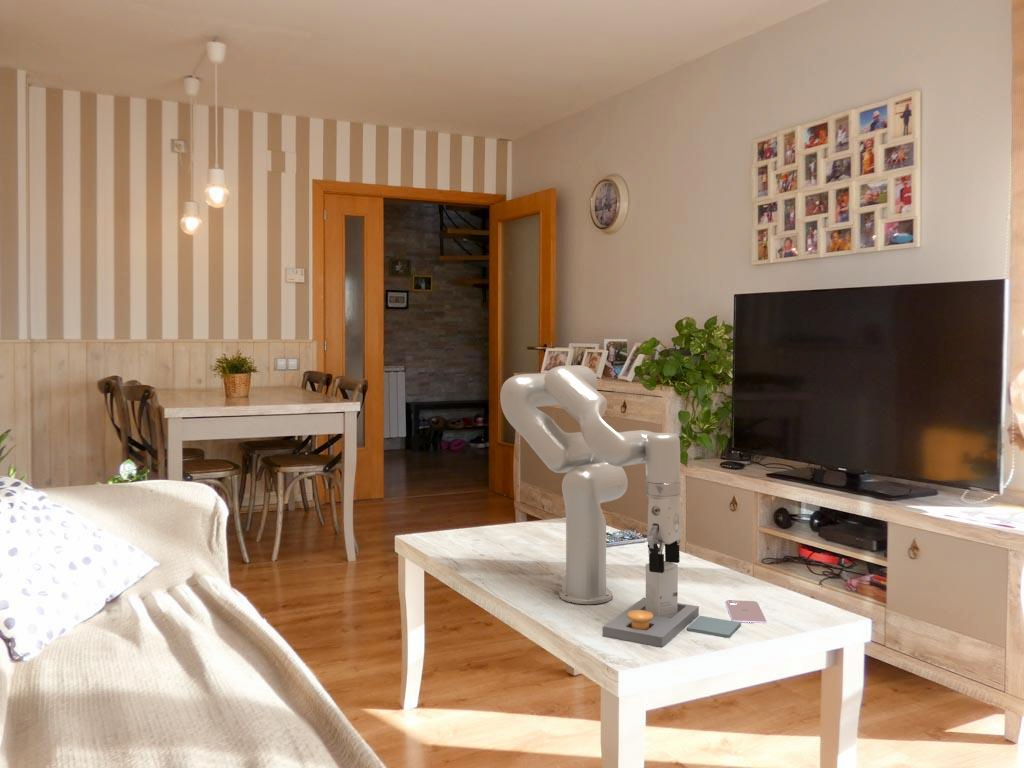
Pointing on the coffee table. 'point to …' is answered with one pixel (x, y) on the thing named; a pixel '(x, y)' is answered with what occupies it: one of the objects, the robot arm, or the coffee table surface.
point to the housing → (651, 625)
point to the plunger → (640, 619)
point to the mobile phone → (745, 611)
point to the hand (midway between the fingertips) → (664, 567)
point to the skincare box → (662, 591)
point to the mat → (714, 626)
